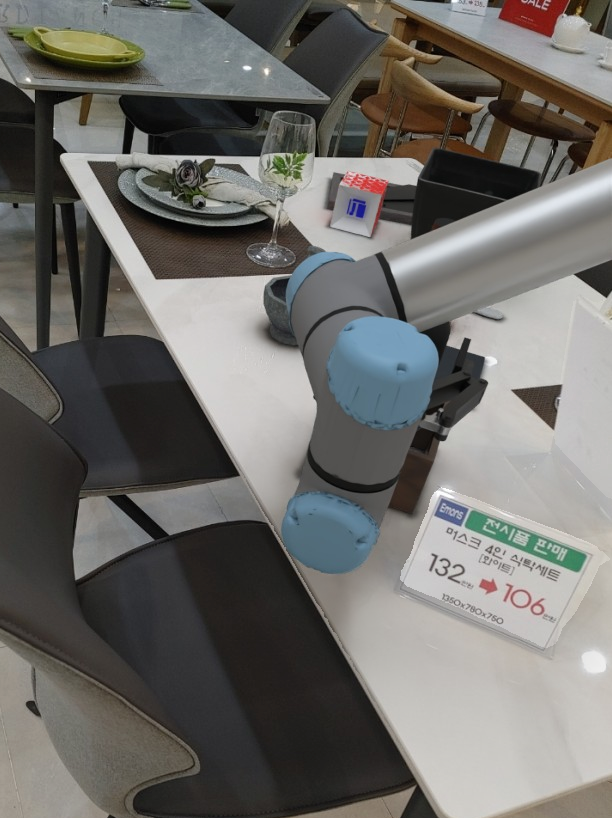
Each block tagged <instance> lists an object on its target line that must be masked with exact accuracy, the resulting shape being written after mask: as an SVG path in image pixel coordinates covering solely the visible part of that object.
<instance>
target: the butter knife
mask: <svg viewBox="0 0 612 818" xmlns="http://www.w3.org/2000/svg"><path fill="white" fill-rule="evenodd" d="M474 313H476V314H478V315H481V316H484V317H486V318H489V319H494V320H500V319H502V318H503V316H504V314H503V313H502V312H501V311H499V310H498V309H494V308H491V307H485V308H483V309H480V310H478V311H475V312H474Z"/></svg>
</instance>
